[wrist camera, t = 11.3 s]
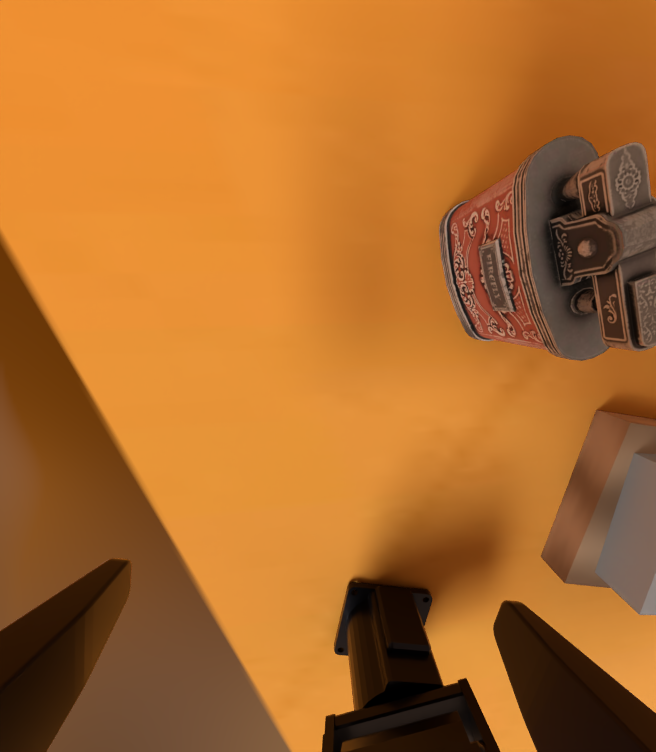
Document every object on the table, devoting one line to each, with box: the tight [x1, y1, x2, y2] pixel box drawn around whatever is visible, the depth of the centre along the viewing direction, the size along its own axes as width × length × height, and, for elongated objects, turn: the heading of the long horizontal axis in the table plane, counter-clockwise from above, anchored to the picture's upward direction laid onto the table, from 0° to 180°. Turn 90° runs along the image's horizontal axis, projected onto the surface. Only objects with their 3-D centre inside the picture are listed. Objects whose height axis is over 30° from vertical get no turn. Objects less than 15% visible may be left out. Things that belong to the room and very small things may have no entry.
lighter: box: [439, 135, 656, 361], centre depth 14 cm, size 8×3×10 cm, turn 21°
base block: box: [541, 410, 656, 588], centre depth 22 cm, size 12×12×3 cm
